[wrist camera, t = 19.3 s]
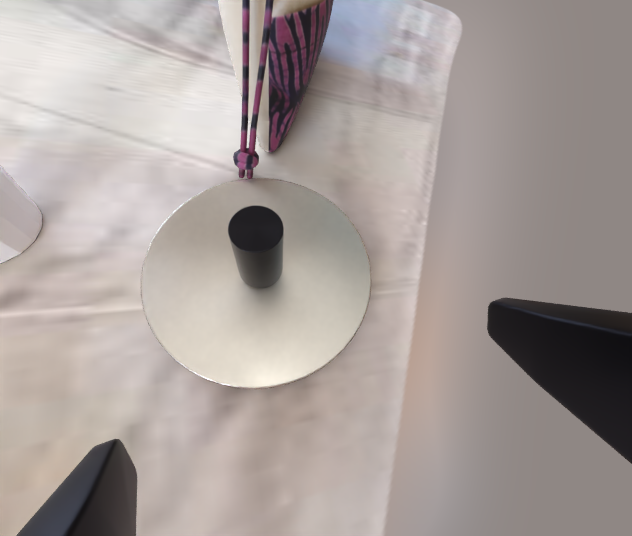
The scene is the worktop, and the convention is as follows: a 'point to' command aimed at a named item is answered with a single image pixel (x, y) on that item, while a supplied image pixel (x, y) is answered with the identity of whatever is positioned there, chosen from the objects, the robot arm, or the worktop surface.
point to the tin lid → (256, 283)
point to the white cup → (16, 218)
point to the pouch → (272, 65)
